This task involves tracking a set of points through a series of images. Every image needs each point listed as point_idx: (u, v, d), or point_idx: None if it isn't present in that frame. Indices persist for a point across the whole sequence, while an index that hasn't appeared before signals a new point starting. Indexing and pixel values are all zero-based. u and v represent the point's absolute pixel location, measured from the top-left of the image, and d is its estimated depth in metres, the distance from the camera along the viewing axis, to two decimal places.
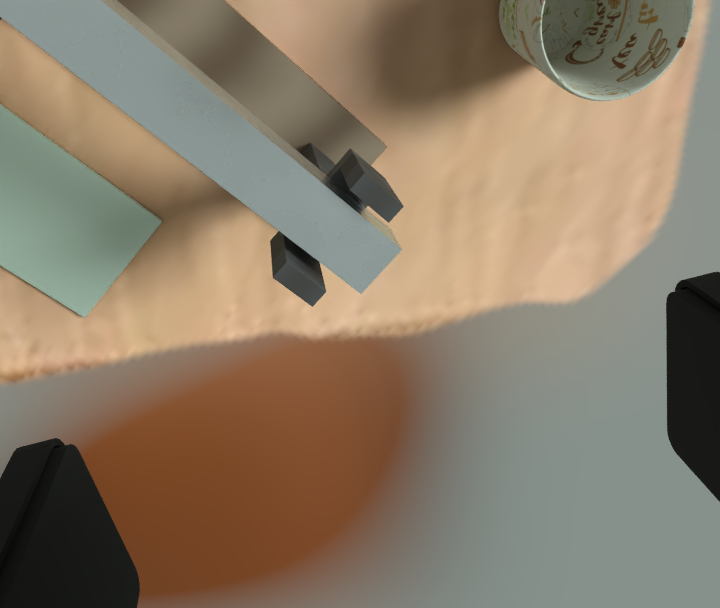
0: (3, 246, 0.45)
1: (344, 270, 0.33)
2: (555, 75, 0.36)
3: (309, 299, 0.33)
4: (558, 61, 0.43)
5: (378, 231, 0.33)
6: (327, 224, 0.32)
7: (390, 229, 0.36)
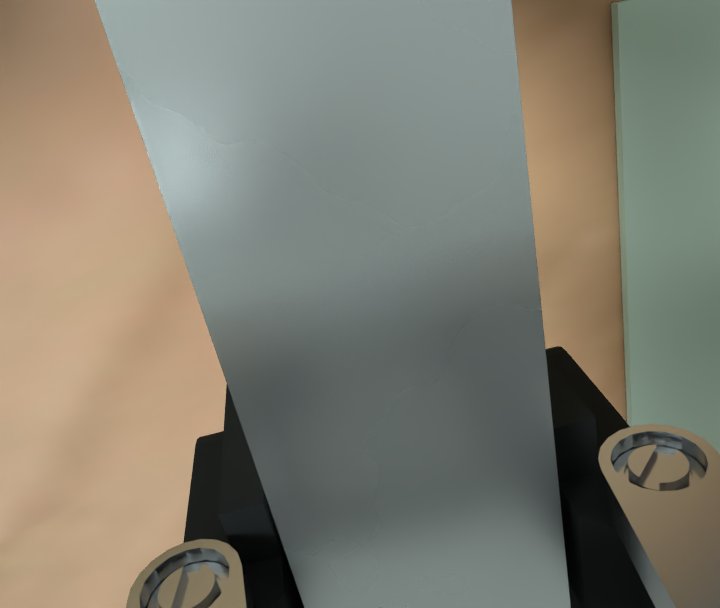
0: None
1: None
2: None
3: None
4: None
5: None
6: None
7: None
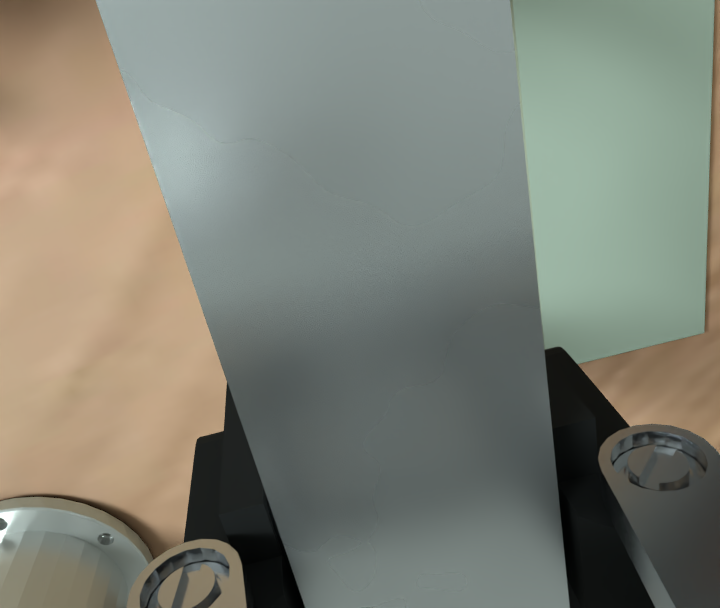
0: (685, 98, 0.32)
1: None
2: None
3: None
4: None
5: None
6: None
7: None
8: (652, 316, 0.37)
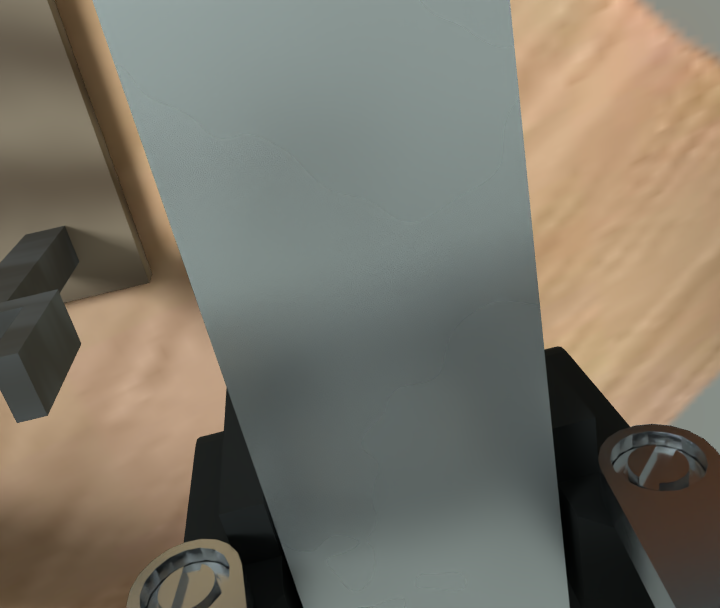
0: None
1: None
2: None
3: None
4: None
5: None
6: None
7: None
8: None
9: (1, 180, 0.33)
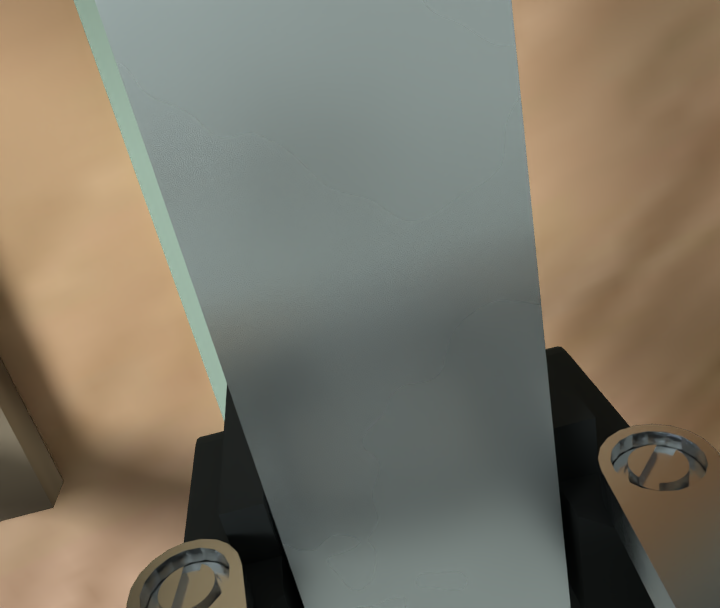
0: None
1: None
2: None
3: None
4: None
5: None
6: None
7: None
8: None
9: None
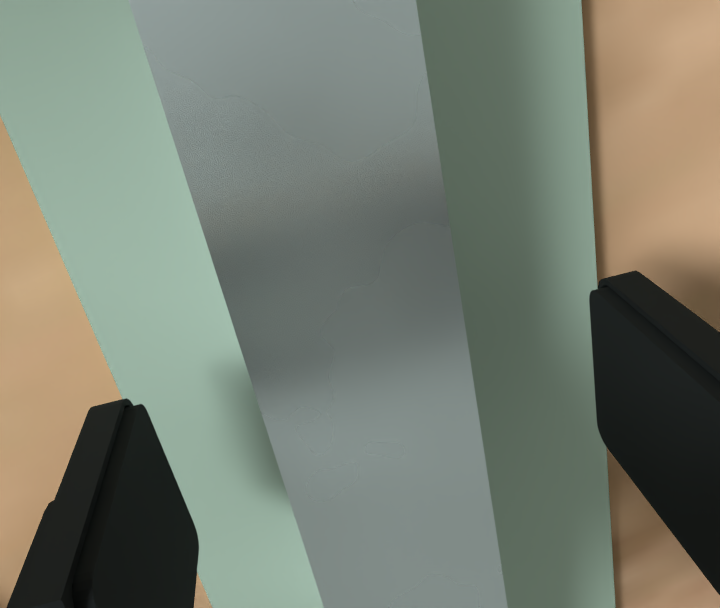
0: (515, 153, 0.12)
1: None
2: None
3: None
4: None
5: None
6: None
7: None
8: None
9: None
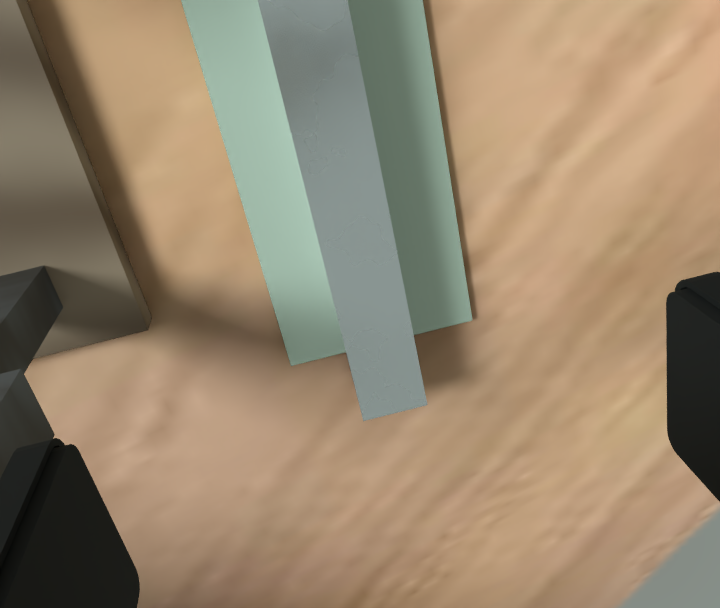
0: (396, 42, 0.27)
1: None
2: None
3: None
4: None
5: None
6: None
7: None
8: None
9: None
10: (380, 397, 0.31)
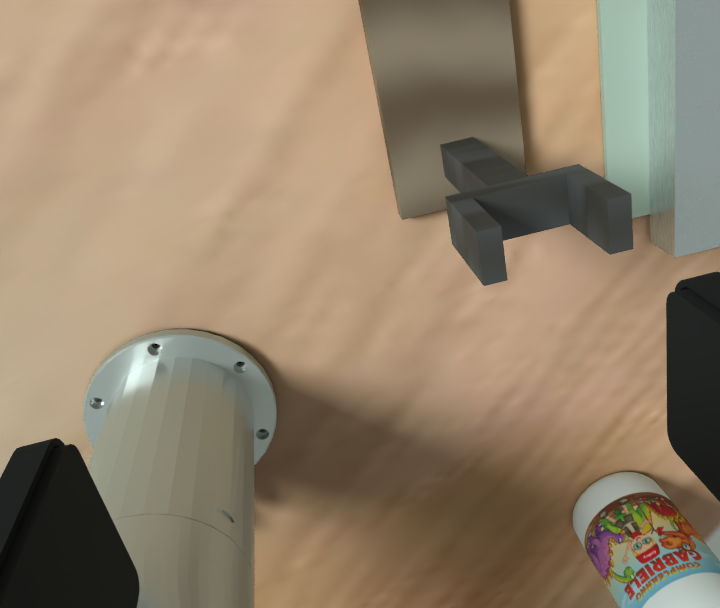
0: None
1: None
2: None
3: None
4: None
5: None
6: None
7: None
8: None
9: (432, 95, 0.39)
10: (690, 239, 0.43)
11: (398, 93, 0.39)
